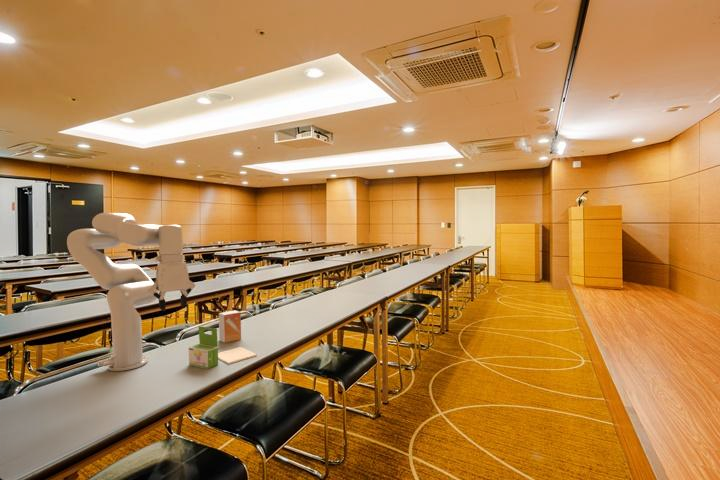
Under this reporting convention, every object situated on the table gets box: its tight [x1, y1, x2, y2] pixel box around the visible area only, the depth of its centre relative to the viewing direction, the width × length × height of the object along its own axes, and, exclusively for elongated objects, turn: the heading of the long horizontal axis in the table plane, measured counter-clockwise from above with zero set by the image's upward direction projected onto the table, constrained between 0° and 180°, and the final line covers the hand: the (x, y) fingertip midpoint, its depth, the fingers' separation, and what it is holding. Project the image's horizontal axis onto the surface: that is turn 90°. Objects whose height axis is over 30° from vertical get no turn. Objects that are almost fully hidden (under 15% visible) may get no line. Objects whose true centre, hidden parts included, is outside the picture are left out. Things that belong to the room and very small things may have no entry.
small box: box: [218, 309, 242, 344], centre depth 165 cm, size 8×6×13 cm
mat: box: [218, 346, 258, 365], centre depth 143 cm, size 12×14×1 cm
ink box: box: [188, 325, 219, 370], centre depth 134 cm, size 10×5×14 cm, turn 65°
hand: (173, 308), depth 127 cm, fingers open, 6 cm apart
